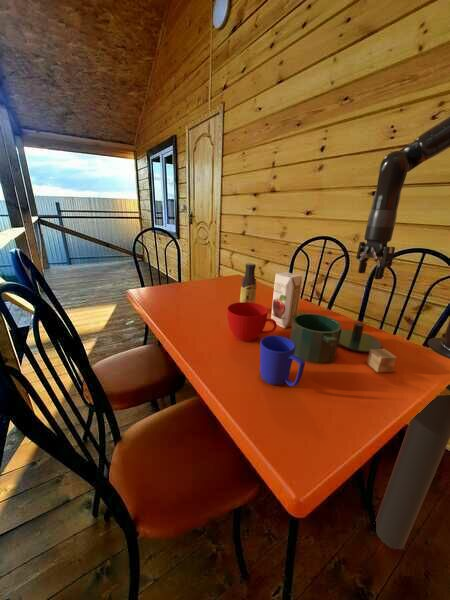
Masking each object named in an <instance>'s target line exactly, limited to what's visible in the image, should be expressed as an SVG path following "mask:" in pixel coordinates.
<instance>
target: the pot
mask: <svg viewBox="0 0 450 600" xmlns="http://www.w3.org/2000/svg"><path fill="white" fill-rule="evenodd" d="M298 312H299V311H298ZM341 330H343V327H342V324H341V323H340V322H339V321H338V320H337V319H334V318H333V317H330V316H327V315H322V314H319V313H307V312H304V311H303V312H301V311H300V312H299V313H298V314H297V315H296V316H294V317H293V318H292V326H290V335H289V339H290V340H291V341H293V342H294V344H295V351H294V355H296V356H297V357H299V358H300V359H302V360H303V361H304V362H309V363H313V364H327V363H330V362H333V361H335V359H336V357H337V353H338V349H339V346H340V345H339V340H340V335H341Z"/></svg>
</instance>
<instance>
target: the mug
mask: <svg viewBox="0 0 450 600" xmlns="http://www.w3.org/2000/svg"><path fill="white" fill-rule="evenodd" d="M259 344H260V345H259V346H260V349H259V350H260V352H259V353H260V354H259V355H260V357H259V358H260V361H259V362H260V365H259V367H260V368H259V369H260V370H259V371H260V372H259V373H260V376H261V379H262V380H263V381H264V382H265V383H266V384H268V385H273V386H282V385H284V384H285V383H286V384H287V385H288V386H289V387H296V386H297V385H298V384H299V383H300V382H301V379H302V377H303V373H304V371H305V365H306V361H304V360H302V359H300V358H299V357H297V356H296V355H294V351H295V344H294V342H293V341H291V340H290V338H287V337H285V336H281V335H268V336H267V335H266V336H264V337H263V338H261V340H260V343H259ZM293 361H295V362H296V363H297V364H298V365H299V366H298V370H297V374H296V378H295V380H294V382H293V381H291V379H290V378H289V376H290V373H291V368H292V364H293Z"/></svg>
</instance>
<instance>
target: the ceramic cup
mask: <svg viewBox="0 0 450 600" xmlns="http://www.w3.org/2000/svg"><path fill="white" fill-rule="evenodd" d="M226 312H227V313H226V315H227V324H228V327H229V330H230V331H231V333H232V334H233V336H235V338H236V339H237V340H239V341H241V342H252V341H254V340H255V339H256V338H258V337H259V336H260V335H266V334H267V335H268V334H271V333H273V332H274V331H275V330H276V329H277V326H278V325H277V324H276V322H275V320H273V319H271V318H268V313H269V311H268V308H267V307H266V306H264V305H263V304H260V303H256V302H255V303H250V302H240V301H239V302H234V303H231V304H229V305H228V306H227V309H226ZM267 322H270V323H272V324H273V327H272V329H270V330H264V328H265V326H266V323H267Z"/></svg>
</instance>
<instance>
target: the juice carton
mask: <svg viewBox="0 0 450 600" xmlns="http://www.w3.org/2000/svg"><path fill="white" fill-rule="evenodd" d="M274 277H275V278H274V284H273V286H274V287H273V295H272V305H271V316H270V319H273V320H275V322H276V324H277V326H278V327H280V328H282V329H287V328H289V327H290V328H291V326H292V318H293V317H294V316H296V315H298V314H299V313H298V312H299V307H300V306H299V305H300V300H301V299H300V297H301V292H302V291H301V290H302V282H303V280H302V279H303V275H300V274H293V273H291V272H289V271H283V272H278V273H275V276H274Z"/></svg>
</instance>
